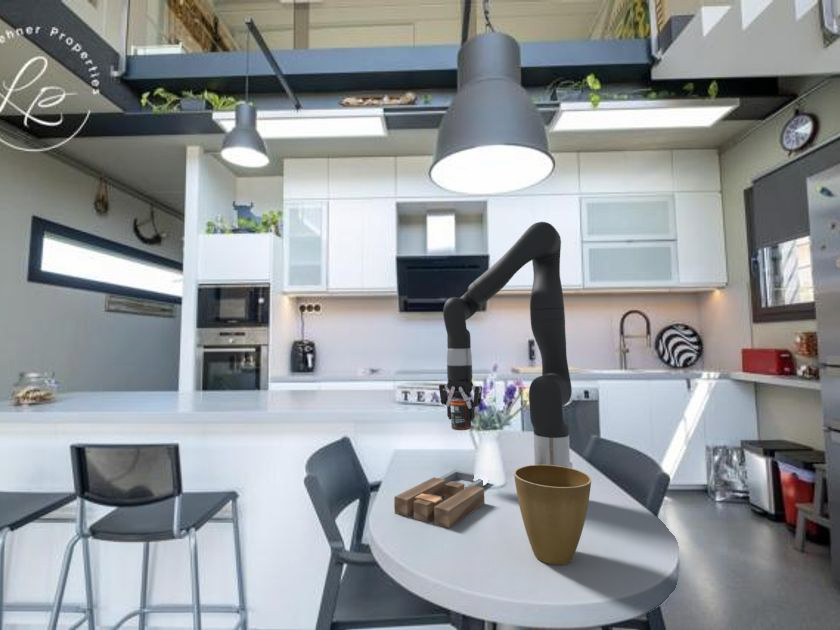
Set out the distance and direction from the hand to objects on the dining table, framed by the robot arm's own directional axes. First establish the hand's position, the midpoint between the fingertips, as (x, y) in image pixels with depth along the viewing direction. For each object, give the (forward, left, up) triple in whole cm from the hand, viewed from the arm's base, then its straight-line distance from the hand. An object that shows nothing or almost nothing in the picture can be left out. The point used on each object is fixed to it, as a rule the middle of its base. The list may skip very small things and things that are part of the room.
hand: (460, 419), depth 129 cm
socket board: (-4, +18, -19) cm, 27 cm away
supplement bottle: (0, 0, -3) cm, 3 cm away
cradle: (0, 0, -19) cm, 19 cm away
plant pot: (-36, +26, -19) cm, 48 cm away
